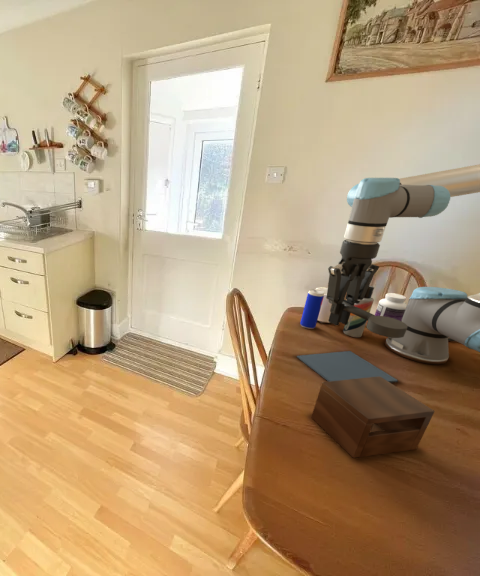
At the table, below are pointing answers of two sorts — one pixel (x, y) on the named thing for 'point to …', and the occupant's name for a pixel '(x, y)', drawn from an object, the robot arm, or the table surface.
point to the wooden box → (370, 416)
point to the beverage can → (312, 308)
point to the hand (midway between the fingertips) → (337, 322)
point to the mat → (343, 366)
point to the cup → (324, 307)
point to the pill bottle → (392, 306)
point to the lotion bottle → (356, 322)
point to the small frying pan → (378, 322)
